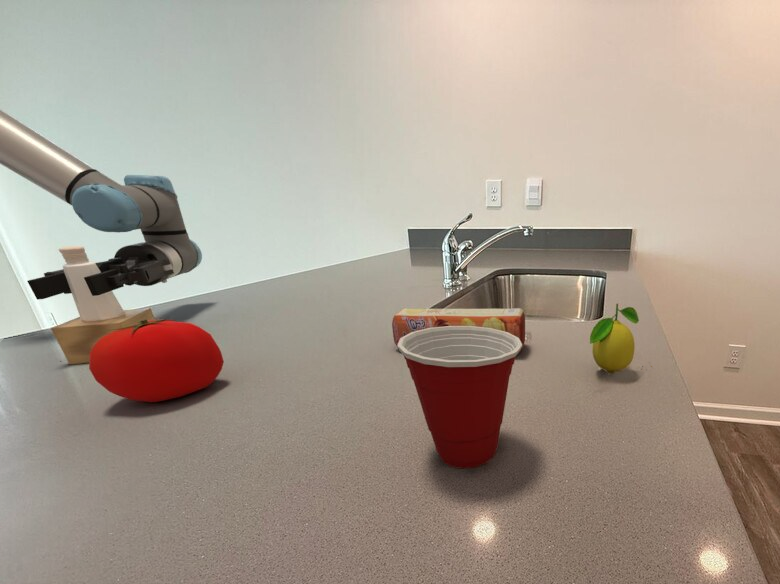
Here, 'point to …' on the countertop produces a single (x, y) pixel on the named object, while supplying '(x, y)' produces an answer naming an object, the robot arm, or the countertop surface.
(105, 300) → the salt shaker
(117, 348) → the tomato
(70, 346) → the wood block
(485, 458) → the plastic cup
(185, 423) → the countertop surface
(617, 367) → the lemon
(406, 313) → the snack package
